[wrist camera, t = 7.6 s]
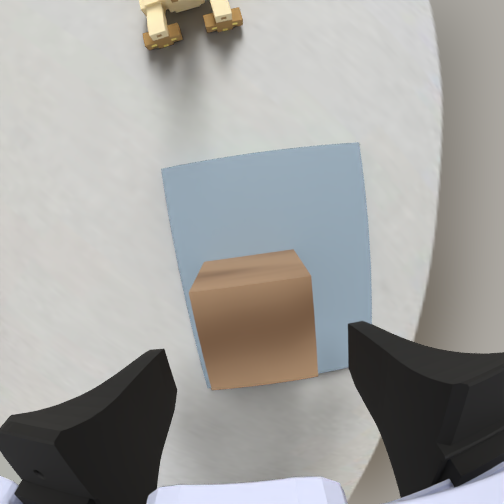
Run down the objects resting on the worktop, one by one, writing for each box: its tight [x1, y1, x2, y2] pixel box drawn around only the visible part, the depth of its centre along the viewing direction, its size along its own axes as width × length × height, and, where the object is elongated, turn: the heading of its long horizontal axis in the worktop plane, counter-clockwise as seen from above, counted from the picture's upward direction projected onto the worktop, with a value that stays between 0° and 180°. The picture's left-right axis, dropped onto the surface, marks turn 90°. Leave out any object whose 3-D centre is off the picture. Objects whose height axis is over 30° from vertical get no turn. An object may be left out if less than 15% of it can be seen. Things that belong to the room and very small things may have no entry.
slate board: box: [161, 143, 372, 388], centre depth 18 cm, size 14×11×1 cm
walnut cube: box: [189, 249, 318, 390], centre depth 16 cm, size 5×5×5 cm
